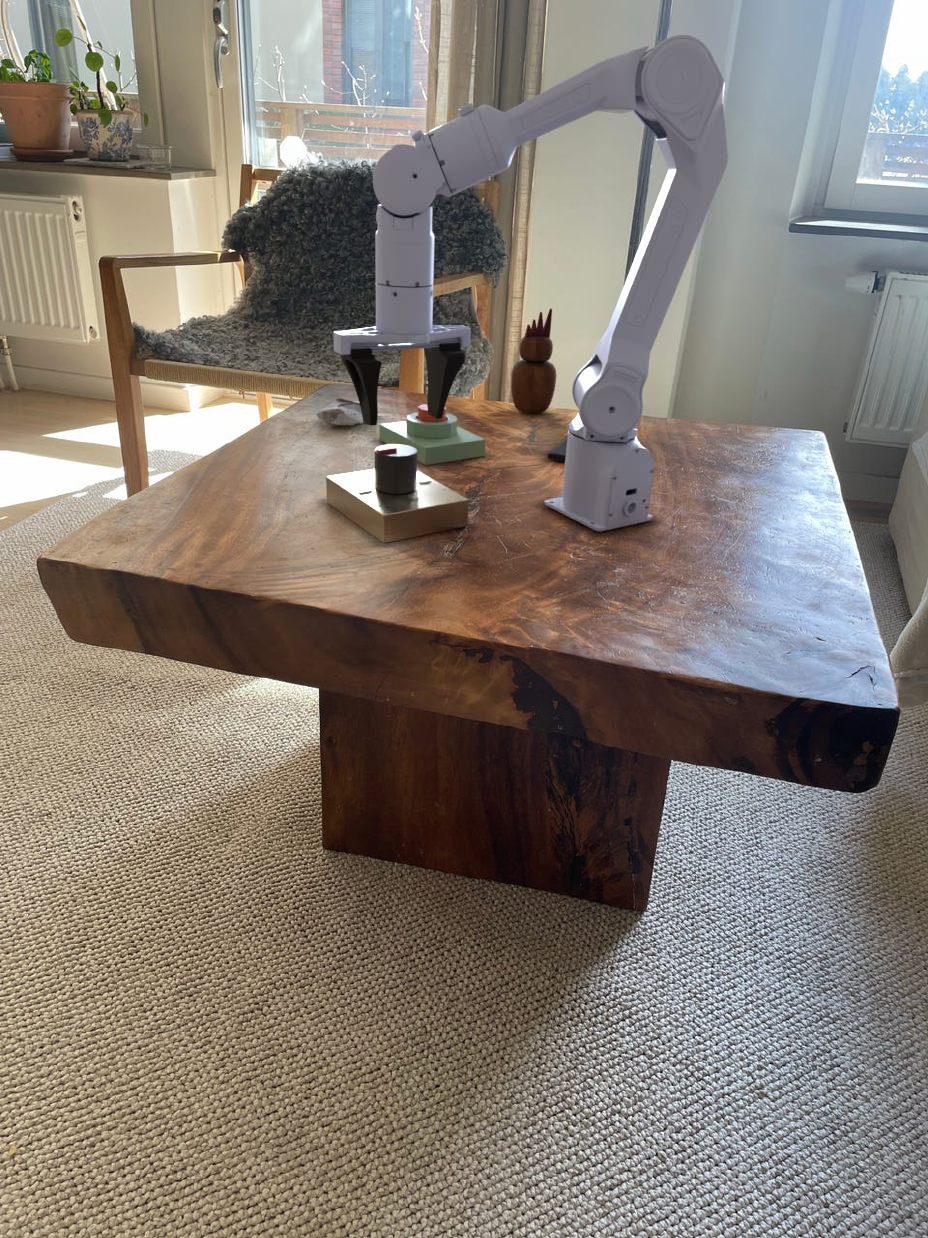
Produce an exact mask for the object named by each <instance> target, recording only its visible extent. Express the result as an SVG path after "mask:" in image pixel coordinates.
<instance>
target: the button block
mask: <svg viewBox="0 0 928 1238" xmlns="http://www.w3.org/2000/svg"><path fill="white" fill-rule="evenodd" d="M379 441H380V442H382V443H384V444H385V445H387V444H402V445H408V446H411V447H414V448H416V449H417V462H419V463H420V464H421V465H424V466H429V465H435V464H442V463H447V462H448V463H449V462H455V461H461V460H468V459H474V458H480V457H485V455H486V443H487V442H486V439H485V438H483V437H481V436H479V435H476V434H475V433H473V432H471V431H468V430H466V429H464V428H462V427H459V426H458V417H457V416H455V415H453V414H451V413H448V412H446V421H444V422H424V421H420V420H418V411H417V412H412V413H410V414H408V415H406V420H399V421H394V422H385V423H379Z"/></svg>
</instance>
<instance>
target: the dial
mask: <svg viewBox="0 0 928 1238" xmlns="http://www.w3.org/2000/svg"><path fill="white" fill-rule="evenodd" d="M374 469H375V488H376V489H377V490H379V491H381V492H385V493H391V494H402V493H408V492H412V491H414V490H415V489H416V487H417V471H418V461H417V449H416V448H414V447H411V446H408V445H402V444H382V445H379V446H376V447H375V449H374Z"/></svg>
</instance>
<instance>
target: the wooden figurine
mask: <svg viewBox="0 0 928 1238" xmlns="http://www.w3.org/2000/svg"><path fill="white" fill-rule="evenodd" d="M543 317H544V316H543V312H542V311H540V312H539V315H538V320H536V319H532V323H531V325H530V324H527V326H526V329H525V333H524V336H523V337H522V338H521V339H520V342H519V348H518V351H519V356H520V358H521V360H520V359H519V361H516V362H515V363H514V364H513V366H512V369H511V374H510V391H511V399H512V402H513V406H514V407H515V409H516V410H518V411H519V412H522V413H526V414H540V413H544V412H546V411H547V410H548V409H549V407H550V406H551V403H552V401H553V399H554V395H555V391H556V390H555V389H556V384H557V369H556V367H555V365H554V364H553V363H552V362H551V361H549V360H550V359H551V358H552V355H553V351H554V347H553V346H554V344H553V340H552V339H551V329H552V319H553V318H552V317H553V308H549V310H548V313H547V316H546V318H545V322H544V319H543Z"/></svg>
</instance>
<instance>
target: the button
mask: <svg viewBox="0 0 928 1238" xmlns="http://www.w3.org/2000/svg"><path fill="white" fill-rule="evenodd" d="M417 412H418V420H420V421H424V422H444V421H446V413H447V406H445V408H444V412H443V416H442V418H440V419H436V418H434V417H432V416H431V415H429V414H428V406H427V403H423V404H420V405H419V406H418V407H417Z"/></svg>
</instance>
